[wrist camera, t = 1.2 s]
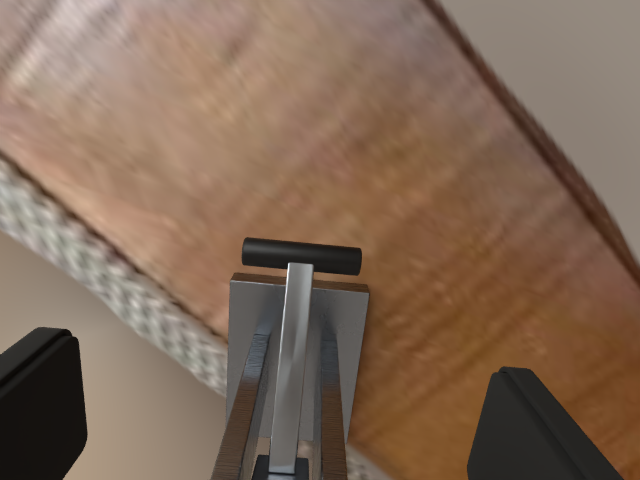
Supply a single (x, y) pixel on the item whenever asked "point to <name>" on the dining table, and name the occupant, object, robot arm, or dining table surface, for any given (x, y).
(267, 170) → the dining table surface
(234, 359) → the press bracket
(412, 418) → the dining table surface
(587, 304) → the dining table surface
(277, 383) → the press lever
